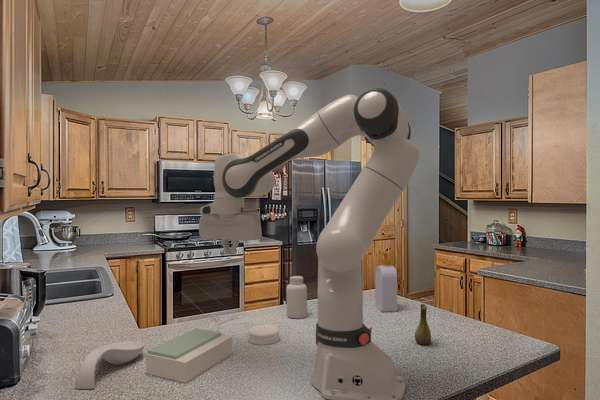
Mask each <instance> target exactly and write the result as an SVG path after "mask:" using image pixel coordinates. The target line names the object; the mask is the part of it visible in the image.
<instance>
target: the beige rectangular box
mask: <svg viewBox="0 0 600 400" xmlns="http://www.w3.org/2000/svg"><path fill="white" fill-rule="evenodd" d="M232 354H233V336H231V335H225V334H221V336H219V337H218V338H216V339H214V340H212V341H210V342H208V343H206V344H204V345H202V346H201V347H199V348H197V349H195V350H193V351H191V352H189V353H187V354H185V355H184V356H182V357H180V358H178V359H176V360H175V359H171V358H166V357H161V356H157V355H152V354H148V353H146V354H145V370H146V371H145V372H146V373H145V374H146V375H151V376H155V377H159V378H163V379H167V380H172V381H175V382H179V383H183V384H187V383H189V382H190V381H191V380H193V379H194V378H196V377H198V376H199V375H200V374H202V373H204V372H205V371H207V370H209V369H211V368H212V367H213V366H215V365H217V364H218V363H220V362H222V361H223V360H225V359H227V358H228V357H230V356H231V355H232Z"/></svg>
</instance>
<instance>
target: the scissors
mask: <svg viewBox="0 0 600 400" xmlns="http://www.w3.org/2000/svg"><path fill="white" fill-rule="evenodd" d="M220 319H221V317H220V316H216V315H215V314H212V317H211V320H214V321H215V322H217V323H216V325H214V326H213V327H211V328H209V329H207V330H208V331H212V330H213V328H214V329H216V332H218V331H219V330H220V328H221V325H223V324H225V323H226V321H228V322H230V321H235V319H236V320H238V319H239V317H238V316H231V317H229V318H228V320H224V321H219V320H220ZM229 320H230V321H229ZM224 322H225V323H224ZM216 326H217V327H216ZM215 327H216V328H215ZM211 329H212V330H211Z"/></svg>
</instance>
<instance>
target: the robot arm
mask: <svg viewBox="0 0 600 400" xmlns="http://www.w3.org/2000/svg"><path fill="white" fill-rule="evenodd" d="M411 131H412V130H411V126H410V123H409V122H408V120H407V117H406V113H405V111H404V110H403V108H402V106H401V104H400V103H398V100H397V98H396V97H395V95H393V93H391V92H390V91H388V90H386V89H385V88H381V87H372V88H370V89H367V90H365V91H364V92H362V93H361V94H360V95H359V96H357V95H354V94H346V95H344V96H341V97H339V98H337V99H335V100H333V101H332V102H330V103H327V104H326V105H325V106H323V107H322V108H320V109H319V110H318V111H316V112H315V113H313V114H312V115H311V116H309V117H308V118H307V119H305V120H304V121H302V122H301V123H299V124H298V125H297V126H295V127H294V128H293V129H291V130H290V131H288V132H286V133H285V134H283V135H281V136H280V137H277V139H275V140H273V141H272V142H270V143H268V144H267V145H266V146H264V147H261V149H259V150H257V151H255V152H254V153H252V154H251V155H250V156H247V157H245V156H243V155H242V154H241V153H239V152H227V153H223V154H219V155H218V156H217V157H216V158H215V162H214V166H213V185H214V189H215V190H214V191H215V192H214V196H213V202H211V203H209V204H207V205H204V206H201V207H200V208H199V214H200V215H201V216H200V217H199V222H198V234H199V237H200V238H201V239H202V240H220V244H221V245H222V248H223V249H224V255H225V256H235V255H236V254H237V248H238V246H239V244H240V241H259V240H260V239H261V238H262V237H263V236H262V235H263V234H262V231H263V230H262V225H261V212H260V210H258V209H257V208H255V207H250V208H249V207H245V198H246V197H247V198H248V197H249V198H251V197H262V196H263V197H264V196H267V195H268V194H270V193H271V192H272V190H273V188H274V187H275V182H276V179H275V178H276V177H275V173H274V172H273V171H274V170H276V169H278V168H279V167H281V166H282V165H284V164H286V163H288V162H290V161H293V160H295V159H300V158H316V157H321V156H323V155H326V154H328V153H330V152H332V151H334V150H336V149H337V148H339V147H340V146H342V145H343V144H344V143H346V142H347V141H349V140H350V139H352V138H354V137H358V136H361V137H364V140H365V141H366V142H367V143H368V144H370V145H371V146H373V151H372V154H371V156H370V158H369V159H368V161H367V162H366V163H365V165H364V166H363V168H362V170H361V171H360V173H359V174H358V176H357V178H356V179H355V180H354V182H353V183H352V185H351V187H350V188H349V189H348V191H347V193H346V194H345V196H344V197H343V199H342V201H341V202H340V204H339V205H338V207H337V208H336V210H335V212H334V213H333V214H332V215H331V218H330V219H329V221H328V223H327V224H326V226H325V227H324V228H323V229H322V230H321V232H320V234H319V236H318V238H317V241H316V246H315V249H316V255H317V322H316V324H315V344H316V356H315V363H314V368H313V372H312V376H311V382H310V383H311V384H312V386H313V387H314V388H315V389H317V390H318V391H319V392H320V394H321V396H322V397H323V399H326V400H402V399H403V397H404V396H405V394H406V381H405V380H404V378H403V377H402V376H400V375H397V374H396V373H397V372H396V368H395V364H394V361H393V359H392V358H391V356H389V354H387V353H386V352H385V351H383V350H382V349H381V348H380V347H379V346H378V345H376V344H375V343H374V342H373V341H372V332H373V331H372V329H373V327H372V326H370V327H369V328H368V327H367V326H366V324H364V321H363V319H364V316H363V315H364V314H363V313H364V311H363V310H364V308H363V307H364V306H363V305H364V304H363V303H364V301H363V297H364V295H363V291H364V290H363V279H362V278H363V276H362V274H363V273H362V260H363V258H364V257H365V256H366V253H367V252H368V250H369V248H370V246H371V245H372V243H373V241H374V240H375V238H376V236H377V234H378V232H379V230H380V229H381V226H382V224H383V223H384V221H385V220H386V218H387V216H388V215H389V213H390V211H392V208H393V207H394V205H395V204H396V203H397V201H398V200H399V199H400V197H401V195H402V193H403V192H404V191H405V189H406V187H407V186H408V184H409V183H410V181H411V178H412V177H413V175H414V173H415V171H416V168H417V166H418V164H419V162H420V157H421V155H420V150H419V149H418V147H417V145H416V144H415V143H414V142H413V141H412V140H411V136H412V135H411V134H412V132H411ZM229 241H231V242H229ZM229 243H231V244H232V246H231V247H230V246H229Z"/></svg>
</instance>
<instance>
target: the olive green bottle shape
mask: <svg viewBox="0 0 600 400" xmlns="http://www.w3.org/2000/svg"><path fill="white" fill-rule="evenodd" d="M427 310H428V309H427V306H426V303H420V318H419V319H420V320H419V323H418V325H417V327H416V330H415V331H414V340H415V341H416V342H417V344H419V345H428V344H430V343H431V341H432V333H431V329H430V327H429V323H428V321H427Z"/></svg>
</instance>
